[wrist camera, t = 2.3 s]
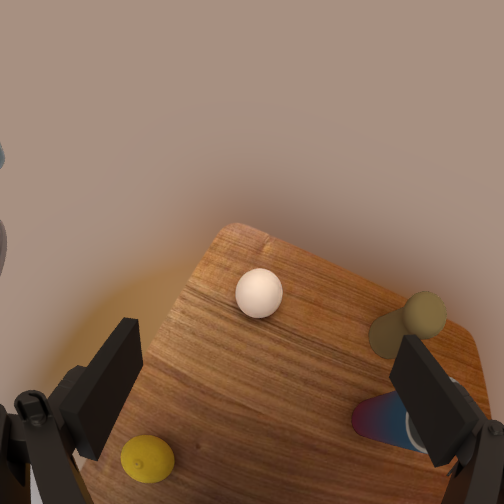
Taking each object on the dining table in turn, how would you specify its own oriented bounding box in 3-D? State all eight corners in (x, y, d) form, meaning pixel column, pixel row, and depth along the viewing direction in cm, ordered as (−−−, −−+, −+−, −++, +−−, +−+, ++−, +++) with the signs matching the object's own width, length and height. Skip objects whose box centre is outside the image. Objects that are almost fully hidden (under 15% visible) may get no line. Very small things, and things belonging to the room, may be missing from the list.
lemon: (187, 446, 30) (174, 455, 23) (169, 482, 28) (152, 500, 21) (145, 424, 31) (122, 427, 24) (128, 460, 29) (101, 470, 22)
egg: (245, 278, 41) (246, 249, 34) (284, 292, 40) (293, 266, 33) (229, 315, 38) (227, 293, 32) (269, 330, 38) (277, 312, 31)
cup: (375, 381, 35) (444, 359, 22) (403, 419, 32) (478, 413, 19) (334, 414, 33) (390, 413, 20) (363, 454, 30) (430, 469, 17)
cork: (399, 366, 36) (446, 347, 26) (361, 346, 37) (401, 322, 27) (413, 327, 38) (459, 298, 29) (378, 307, 40) (417, 273, 30)
